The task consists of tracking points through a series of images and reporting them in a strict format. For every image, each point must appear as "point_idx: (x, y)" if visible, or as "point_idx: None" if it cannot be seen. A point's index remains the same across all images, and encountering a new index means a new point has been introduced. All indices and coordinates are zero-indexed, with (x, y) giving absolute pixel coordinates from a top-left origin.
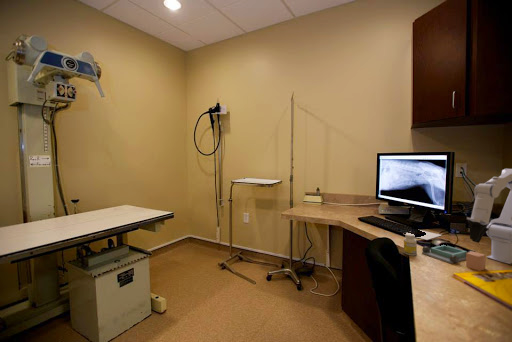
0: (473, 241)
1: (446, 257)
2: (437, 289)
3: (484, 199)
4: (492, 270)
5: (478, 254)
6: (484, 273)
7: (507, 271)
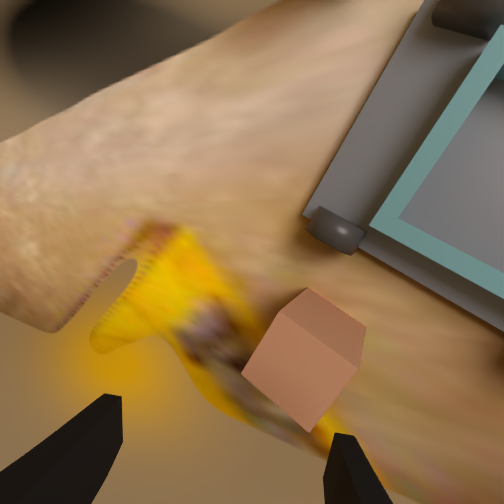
0: (352, 443)
1: (385, 183)
2: (47, 185)
3: None
4: None
5: (294, 388)
6: None
7: None
